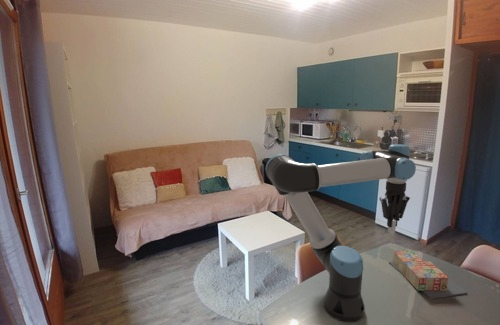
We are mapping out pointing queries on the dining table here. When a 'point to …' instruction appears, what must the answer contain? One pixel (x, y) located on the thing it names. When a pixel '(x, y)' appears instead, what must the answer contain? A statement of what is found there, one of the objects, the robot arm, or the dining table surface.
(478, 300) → the dining table surface
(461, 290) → the mat
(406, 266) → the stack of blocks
